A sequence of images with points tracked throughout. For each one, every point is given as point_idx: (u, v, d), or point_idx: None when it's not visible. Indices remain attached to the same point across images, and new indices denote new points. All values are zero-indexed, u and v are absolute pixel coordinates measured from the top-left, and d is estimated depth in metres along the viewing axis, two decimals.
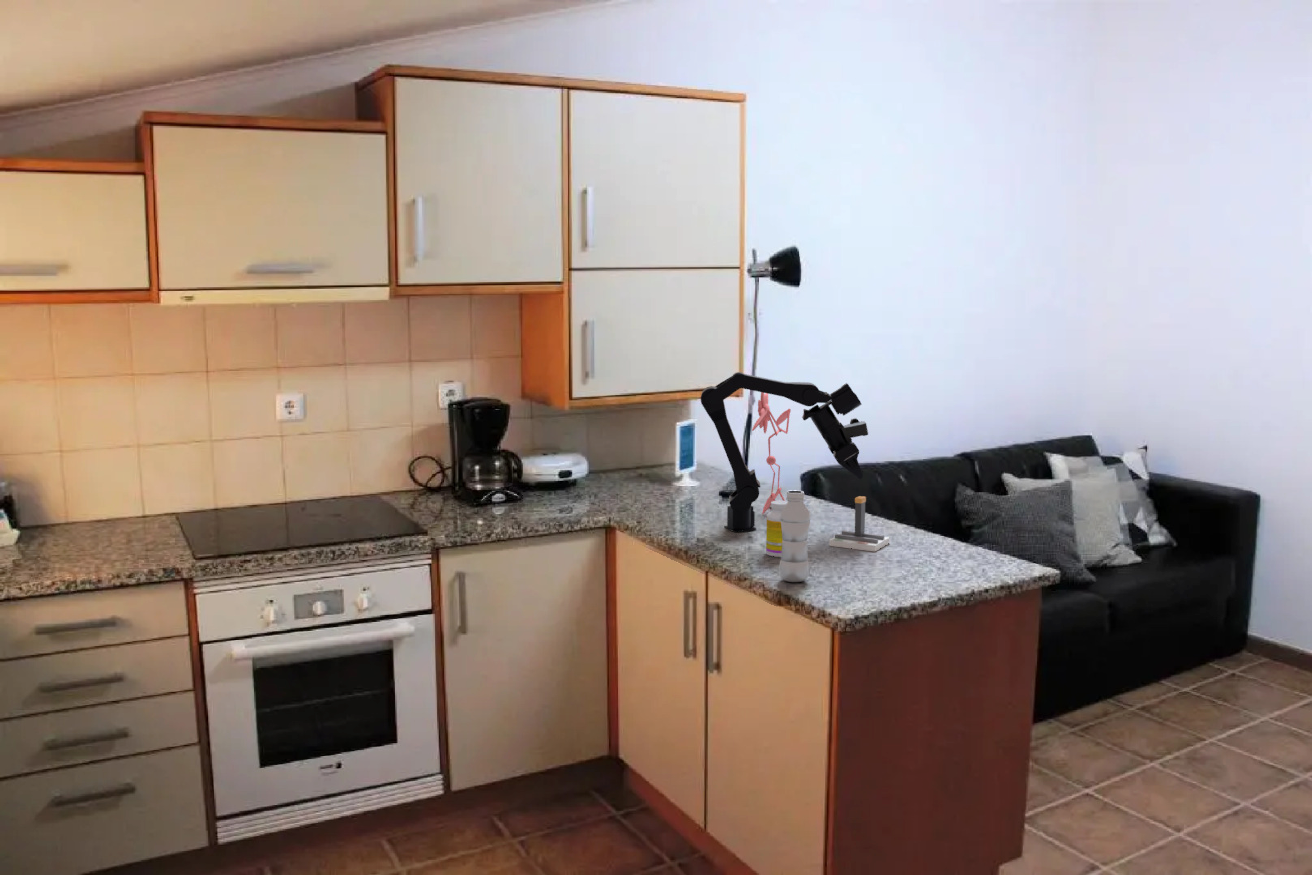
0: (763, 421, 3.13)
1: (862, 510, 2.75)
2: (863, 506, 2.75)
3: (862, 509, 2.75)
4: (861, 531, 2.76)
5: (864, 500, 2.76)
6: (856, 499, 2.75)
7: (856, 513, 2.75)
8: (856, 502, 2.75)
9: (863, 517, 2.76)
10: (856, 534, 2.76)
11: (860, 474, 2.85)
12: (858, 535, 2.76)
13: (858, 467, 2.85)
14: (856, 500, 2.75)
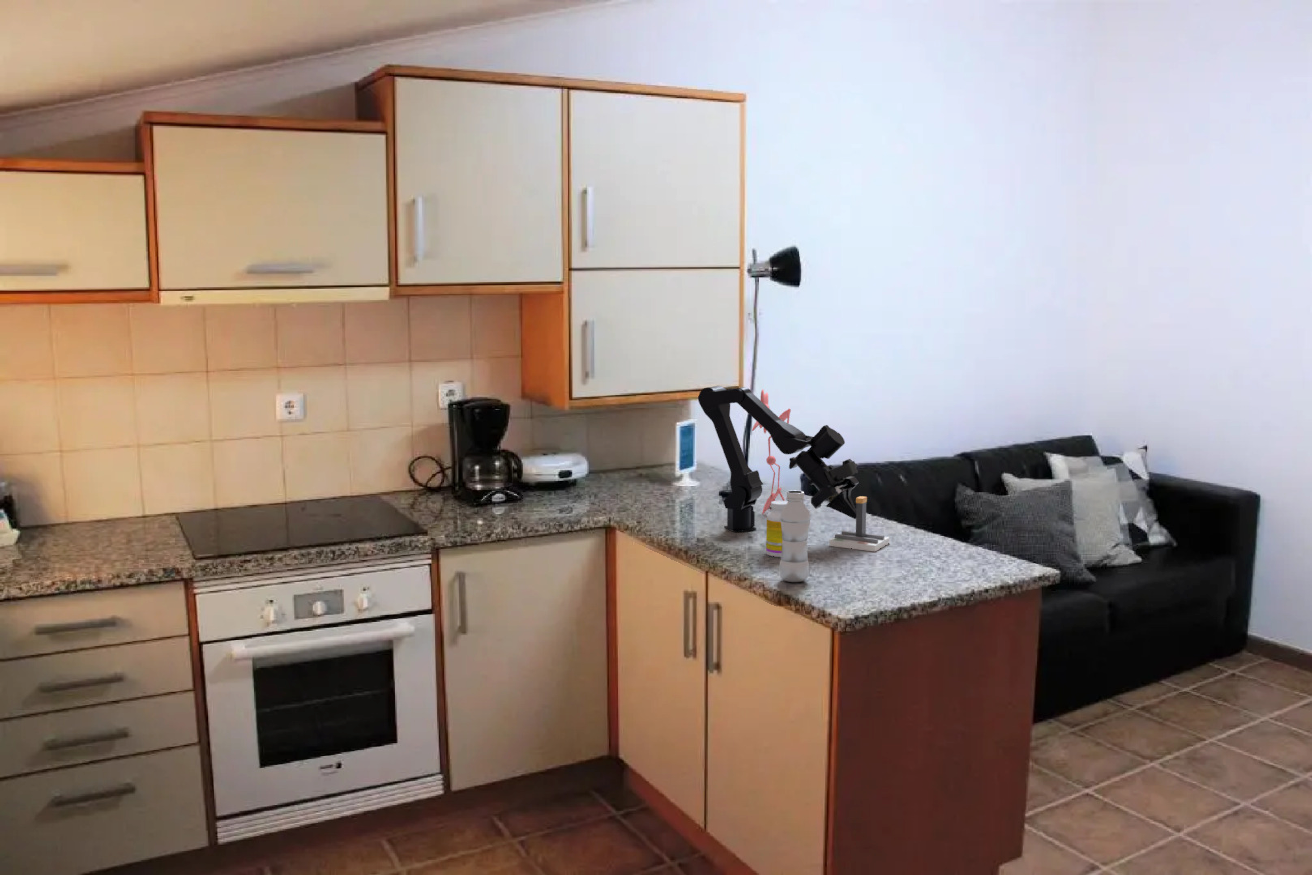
0: None
1: (863, 510, 2.75)
2: (864, 506, 2.75)
3: (863, 509, 2.75)
4: (862, 531, 2.75)
5: (865, 500, 2.75)
6: (857, 499, 2.74)
7: (857, 513, 2.75)
8: (857, 502, 2.75)
9: (864, 517, 2.76)
10: (857, 534, 2.76)
11: (853, 514, 2.76)
12: (859, 535, 2.75)
13: (848, 507, 2.76)
14: (857, 500, 2.74)
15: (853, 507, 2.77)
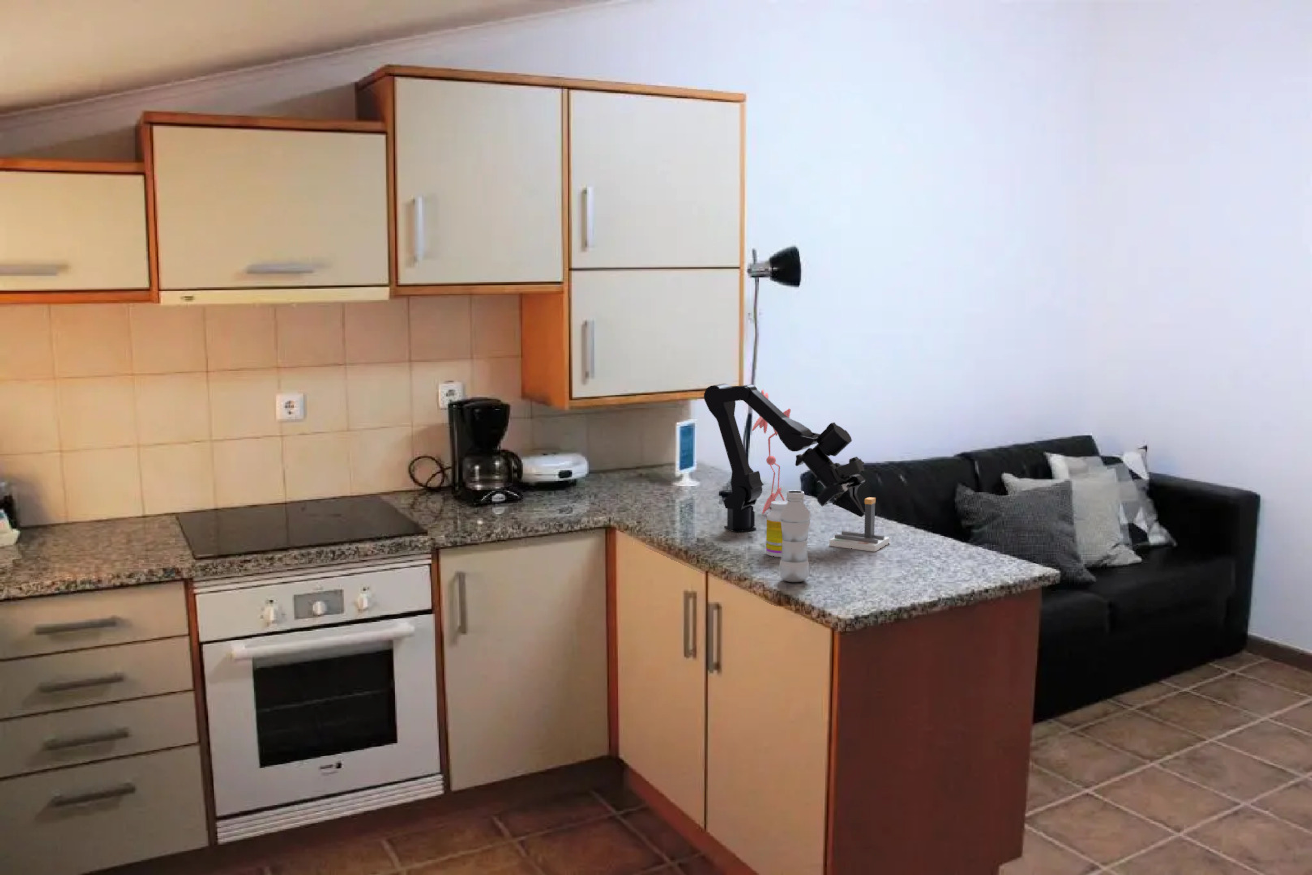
0: (763, 421, 3.13)
1: (872, 511, 2.74)
2: (873, 507, 2.74)
3: (872, 510, 2.74)
4: (871, 532, 2.74)
5: (874, 501, 2.74)
6: (866, 500, 2.73)
7: (866, 514, 2.74)
8: (866, 503, 2.73)
9: (873, 518, 2.75)
10: (866, 535, 2.74)
11: (859, 512, 2.75)
12: (868, 536, 2.74)
13: (855, 505, 2.75)
14: (866, 501, 2.73)
15: (859, 505, 2.76)
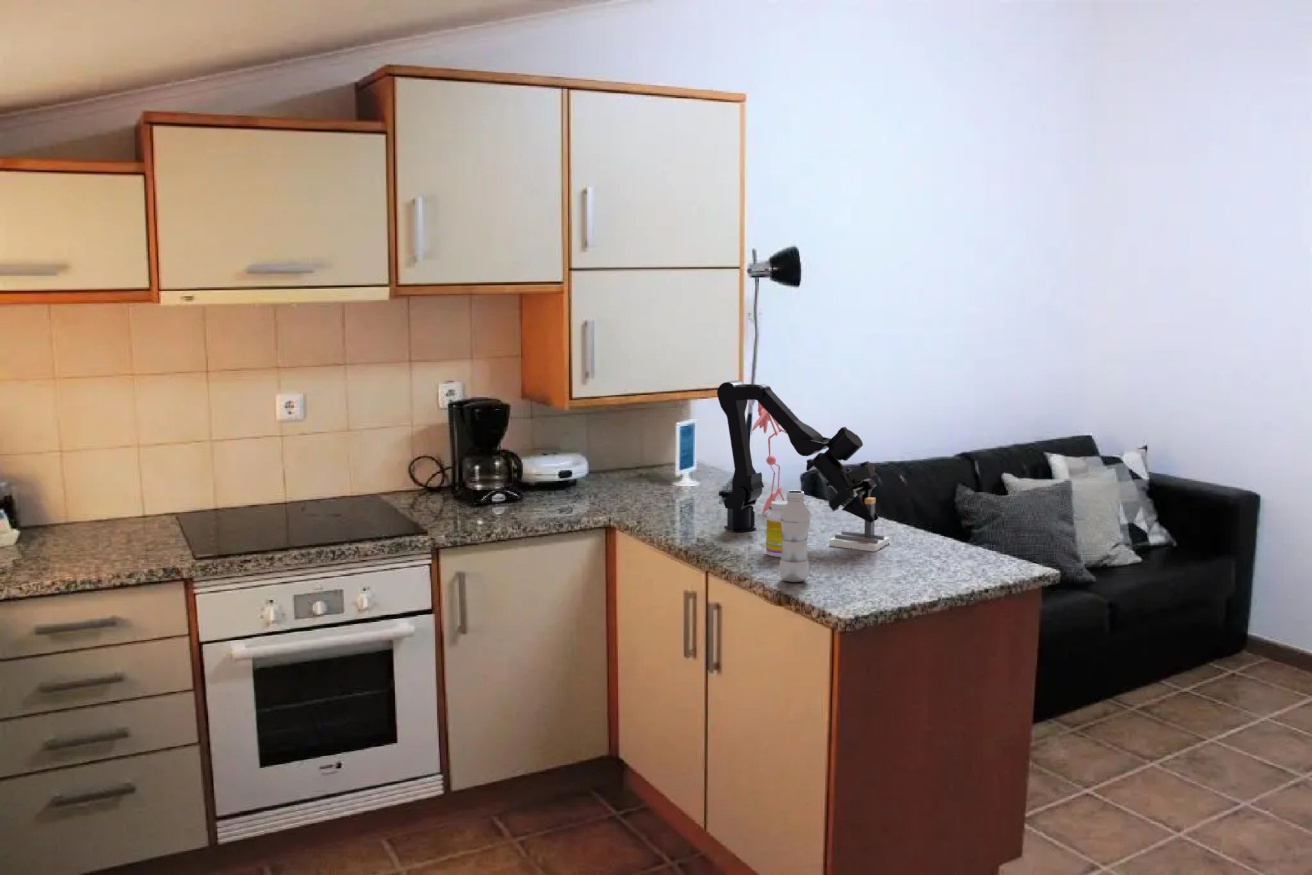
0: (763, 421, 3.13)
1: (872, 511, 2.74)
2: (873, 507, 2.74)
3: (872, 510, 2.74)
4: (871, 532, 2.74)
5: (874, 501, 2.74)
6: (866, 500, 2.73)
7: None
8: (866, 503, 2.73)
9: (873, 518, 2.75)
10: (866, 535, 2.74)
11: (869, 518, 2.73)
12: (868, 536, 2.74)
13: (864, 510, 2.72)
14: (866, 501, 2.73)
15: None
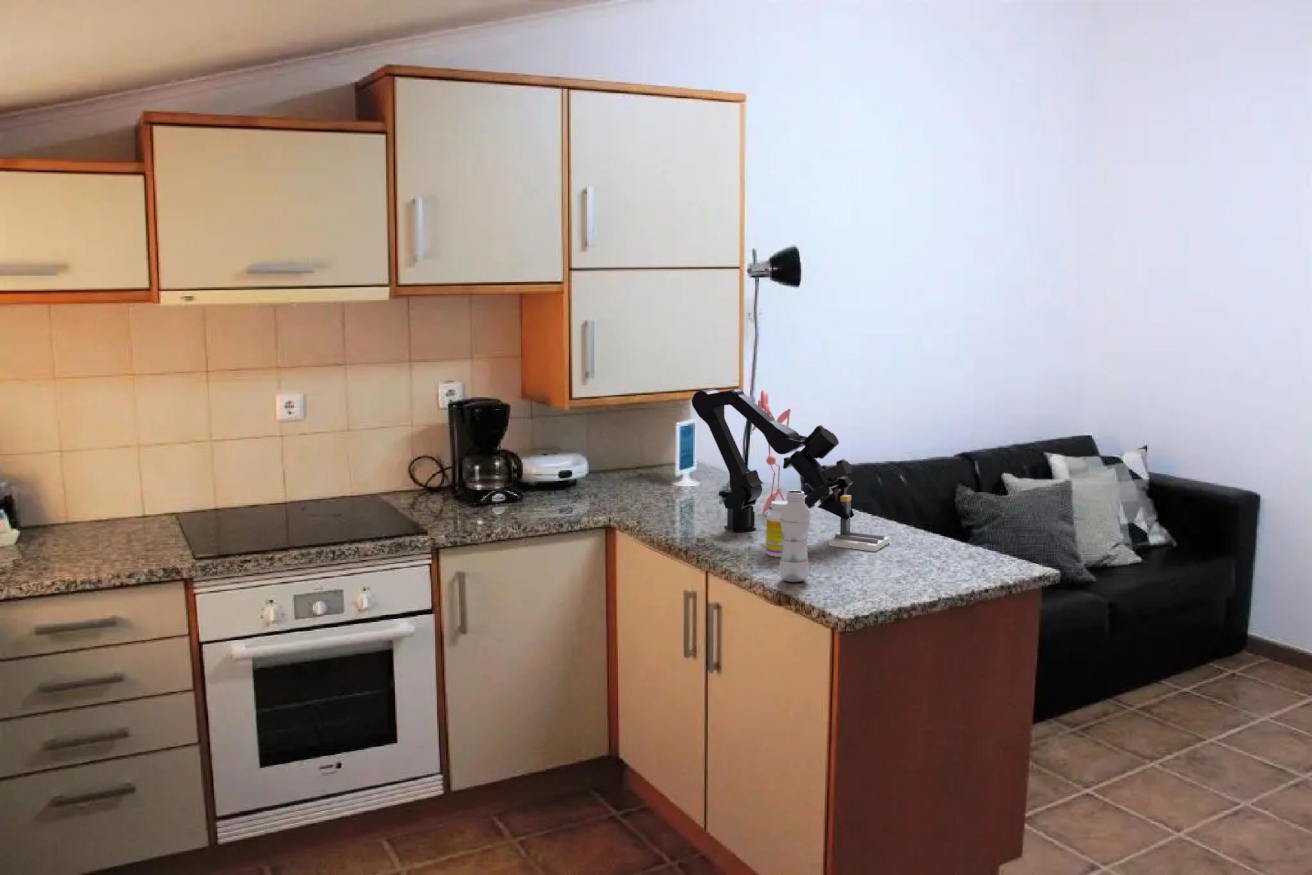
0: None
1: (847, 508, 2.77)
2: (848, 504, 2.77)
3: (847, 507, 2.77)
4: (846, 529, 2.78)
5: (850, 498, 2.78)
6: (841, 497, 2.77)
7: None
8: (842, 501, 2.77)
9: None
10: (842, 532, 2.78)
11: (844, 515, 2.76)
12: (843, 533, 2.78)
13: (840, 508, 2.76)
14: (841, 498, 2.77)
15: None
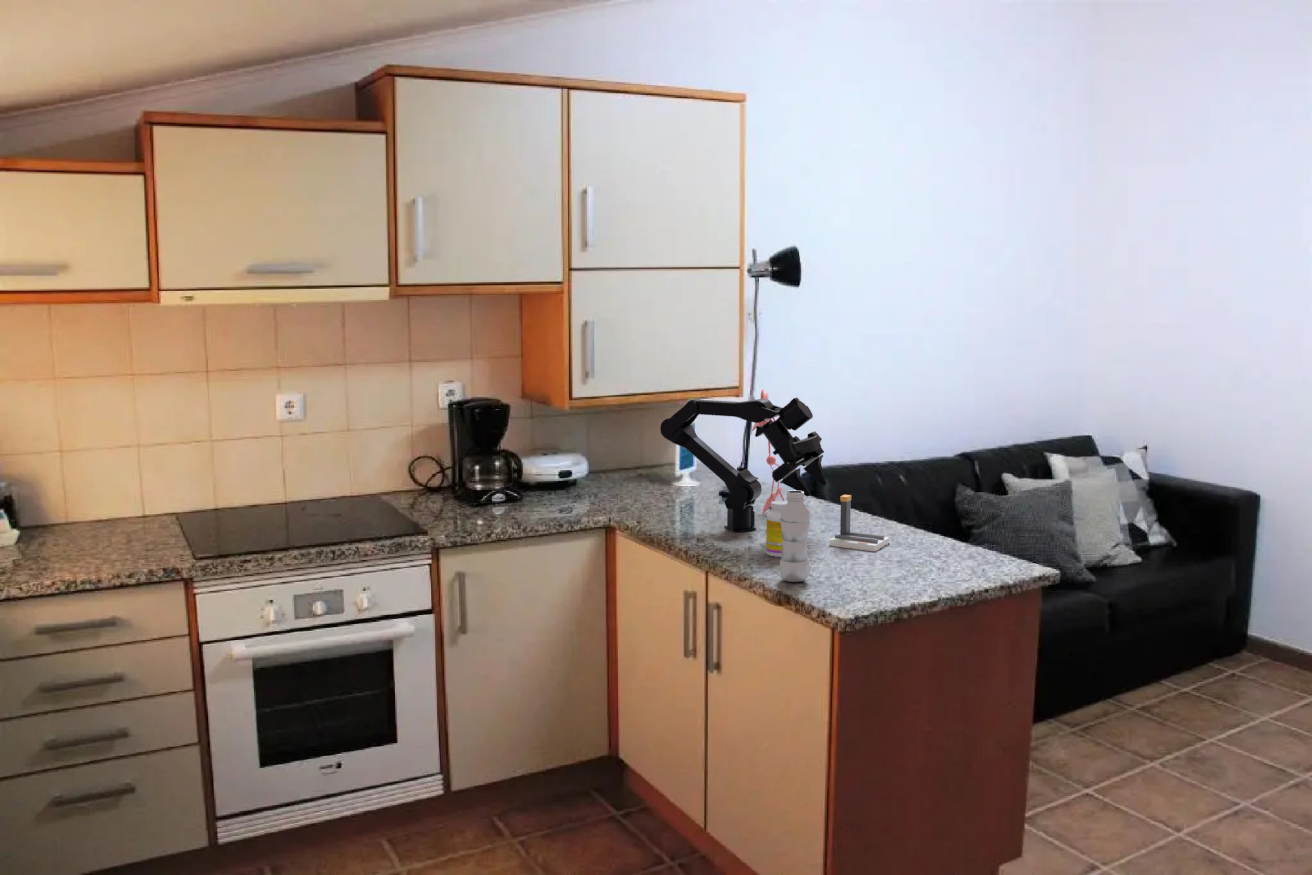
0: (763, 421, 3.13)
1: (847, 508, 2.77)
2: (848, 504, 2.77)
3: (847, 507, 2.77)
4: (846, 529, 2.78)
5: (850, 498, 2.78)
6: (841, 497, 2.77)
7: (841, 511, 2.77)
8: (842, 501, 2.77)
9: (848, 515, 2.78)
10: (842, 532, 2.78)
11: (805, 492, 2.80)
12: (843, 533, 2.78)
13: (801, 485, 2.79)
14: (841, 498, 2.77)
15: (822, 475, 2.87)
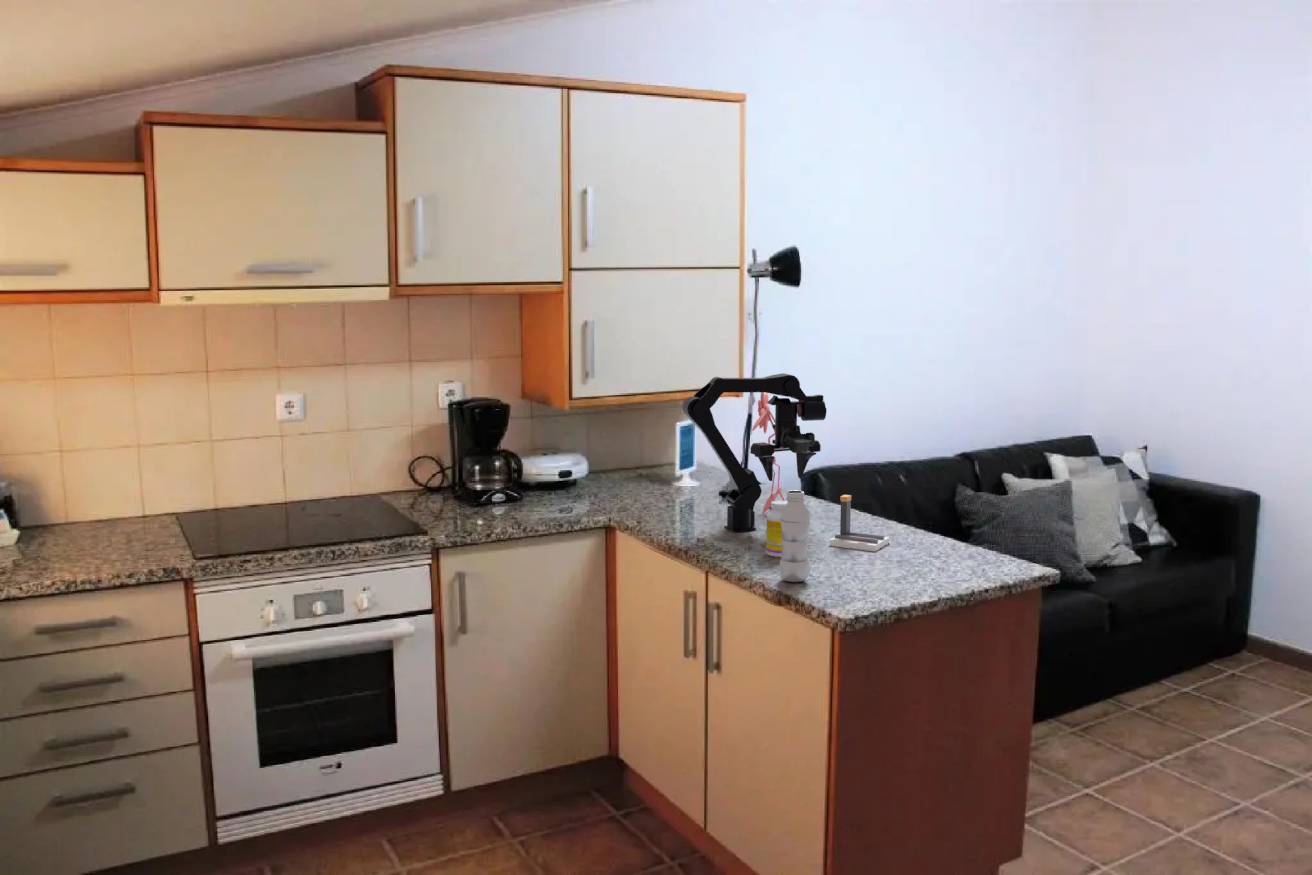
0: (763, 421, 3.13)
1: (847, 508, 2.77)
2: (848, 504, 2.77)
3: (847, 507, 2.77)
4: (846, 529, 2.78)
5: (850, 498, 2.78)
6: (841, 497, 2.77)
7: (841, 511, 2.77)
8: (842, 501, 2.77)
9: (848, 515, 2.78)
10: (842, 532, 2.78)
11: (769, 477, 2.93)
12: (843, 533, 2.78)
13: (768, 470, 2.92)
14: (841, 498, 2.77)
15: (802, 469, 2.96)
